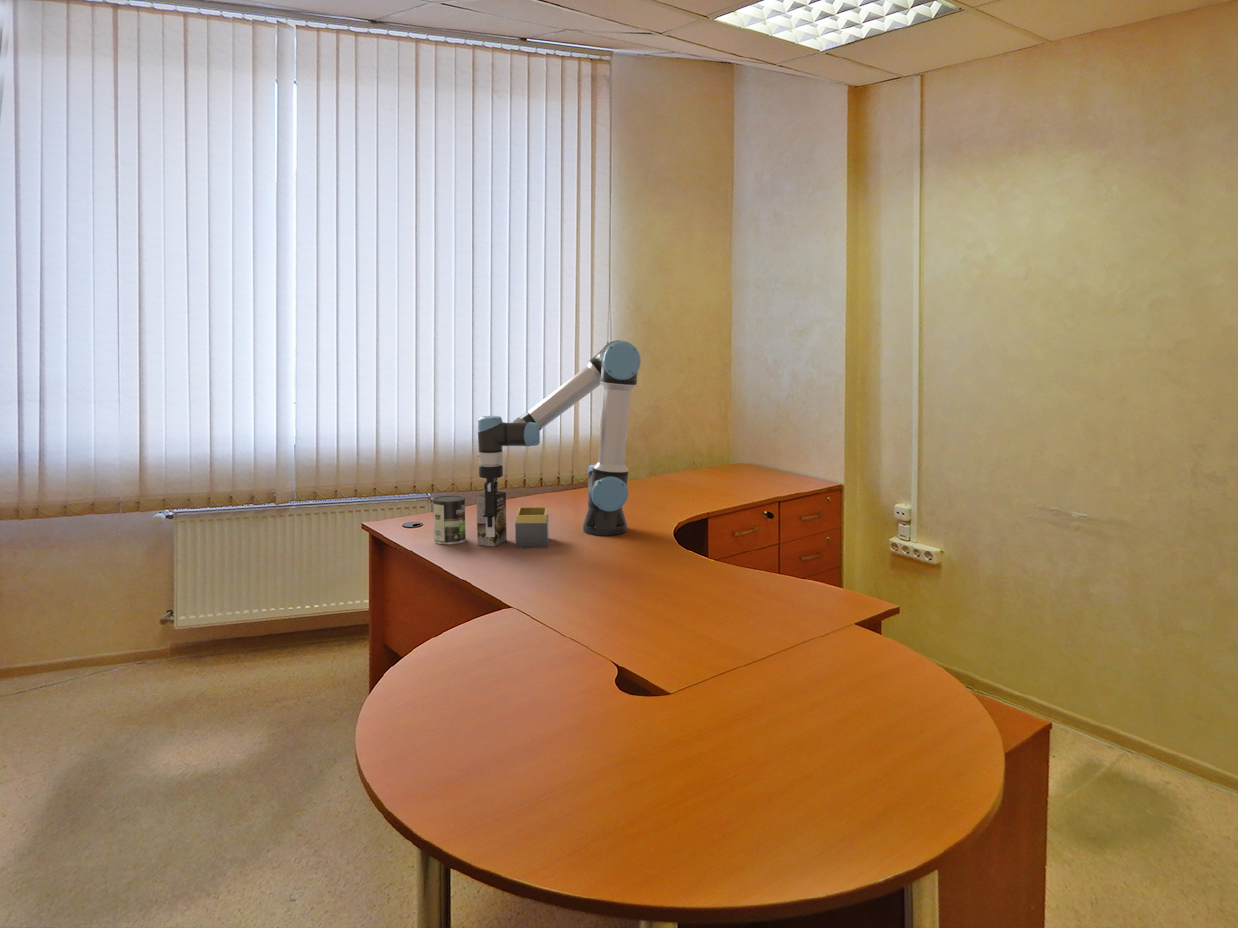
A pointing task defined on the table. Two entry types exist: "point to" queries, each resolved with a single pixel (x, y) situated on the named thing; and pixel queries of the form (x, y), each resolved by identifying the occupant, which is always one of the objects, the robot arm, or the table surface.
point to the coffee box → (499, 520)
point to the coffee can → (449, 519)
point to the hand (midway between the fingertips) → (492, 532)
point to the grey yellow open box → (532, 527)
